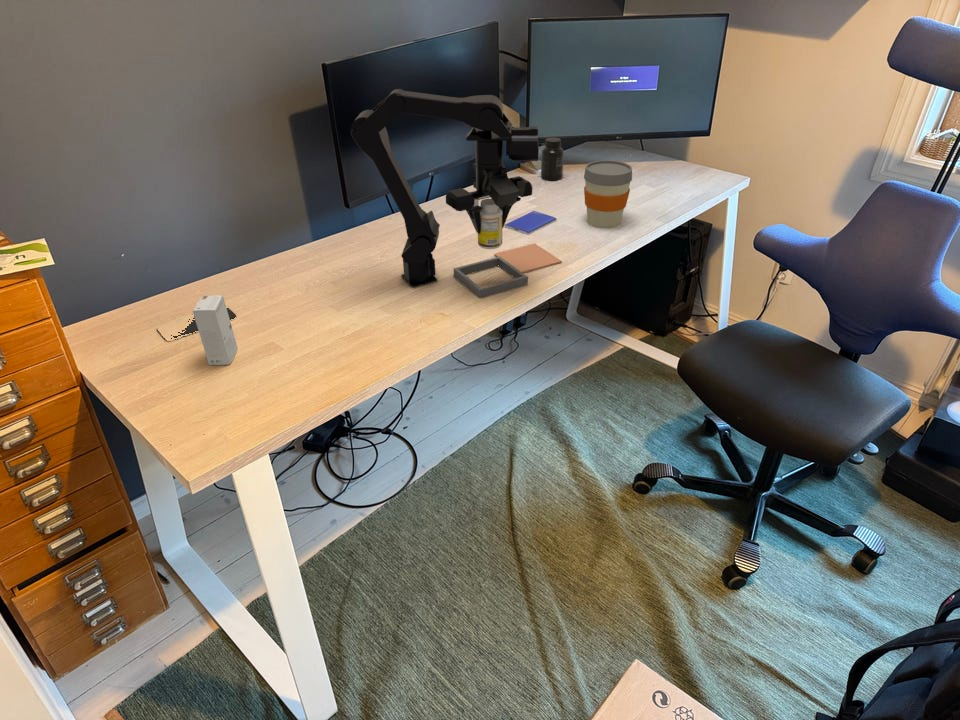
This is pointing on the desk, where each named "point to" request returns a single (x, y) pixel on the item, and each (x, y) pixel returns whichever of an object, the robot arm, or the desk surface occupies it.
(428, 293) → the desk surface
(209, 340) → the skincare box
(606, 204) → the reusable coffee cup
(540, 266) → the pad
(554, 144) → the supplement bottle
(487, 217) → the supplement bottle
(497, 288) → the square frame
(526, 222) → the hard drive
